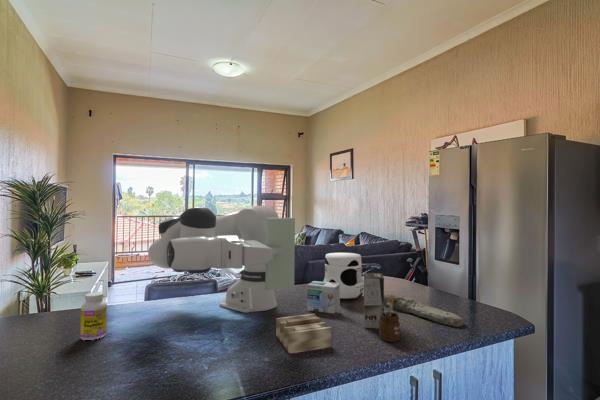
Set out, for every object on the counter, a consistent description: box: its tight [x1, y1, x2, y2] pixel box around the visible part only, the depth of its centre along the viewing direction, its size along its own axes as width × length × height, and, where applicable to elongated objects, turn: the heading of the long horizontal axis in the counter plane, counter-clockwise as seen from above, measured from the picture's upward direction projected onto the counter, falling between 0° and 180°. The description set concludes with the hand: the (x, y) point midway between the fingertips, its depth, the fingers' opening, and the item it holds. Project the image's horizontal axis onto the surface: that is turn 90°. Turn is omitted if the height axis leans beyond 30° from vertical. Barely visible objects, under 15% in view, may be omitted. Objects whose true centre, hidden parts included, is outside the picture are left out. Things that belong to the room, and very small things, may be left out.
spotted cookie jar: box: [322, 252, 364, 301], centre depth 143 cm, size 17×17×18 cm
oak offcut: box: [294, 325, 321, 331], centre depth 90 cm, size 7×2×5 cm, turn 110°
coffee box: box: [363, 272, 385, 330], centre depth 112 cm, size 9×6×16 cm
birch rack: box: [275, 313, 333, 354], centre depth 94 cm, size 12×13×6 cm
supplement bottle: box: [80, 291, 108, 341], centre depth 100 cm, size 7×7×13 cm
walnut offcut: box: [286, 315, 320, 327], centre depth 94 cm, size 9×2×6 cm, turn 110°
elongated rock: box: [384, 293, 464, 328], centre depth 123 cm, size 35×5×10 cm
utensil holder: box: [378, 294, 401, 343], centre depth 99 cm, size 6×6×12 cm
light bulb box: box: [306, 280, 341, 314], centre depth 122 cm, size 11×7×11 cm, turn 68°
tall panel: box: [265, 217, 296, 291], centre depth 96 cm, size 8×2×20 cm, turn 110°
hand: (279, 249), depth 96 cm, fingers closed on tall panel, 2 cm apart
